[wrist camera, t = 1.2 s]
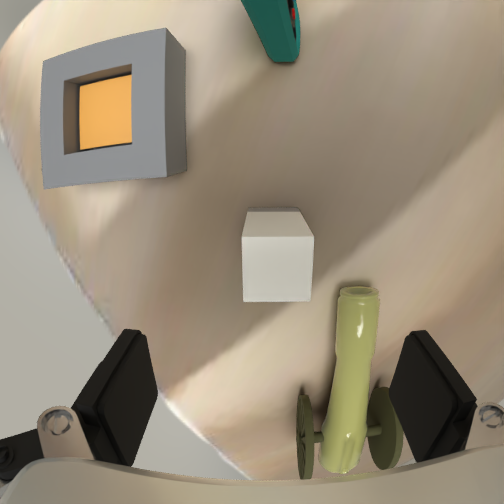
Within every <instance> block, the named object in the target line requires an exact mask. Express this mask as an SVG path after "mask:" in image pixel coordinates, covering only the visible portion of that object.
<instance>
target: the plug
mask: <svg viewBox="0 0 504 504" xmlns="http://www.w3.org/2000/svg"><path fill="white" fill-rule="evenodd" d="M313 251H314V235H313V234H312V232H311V230H310V228H309V227H308V225H307V223H306V221H305V220H304V218H303V216H302V214H301V213H300V211H299V209H298V208H296V207H262V208H248V212H247V216H246V220H245V224H244V229H243V233H242V270H243V302H301V301H311V287H312V270H313Z"/></svg>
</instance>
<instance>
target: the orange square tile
mask: <svg viewBox="0 0 504 504" xmlns="http://www.w3.org/2000/svg"><path fill="white" fill-rule="evenodd" d="M131 81H132V75H128V76H123V77H118V78H113V79H108V80H104V81H100V82H96V83H92V84H88V85H84V86H80V150H84V149H90V148H96V147H102V146H109V145H116V144H124V143H132V127H131Z"/></svg>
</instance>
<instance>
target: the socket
mask: <svg viewBox="0 0 504 504" xmlns="http://www.w3.org/2000/svg"><path fill="white" fill-rule="evenodd" d="M128 75H132V81H131V127H132V143H124V144H116V145H109V146H102V147H96V148H90V149H84V150H80V86H84V85H88V84H92V83H96V82H100V81H104V80H108V79H113V78H118V77H123V76H128ZM40 136H41V160H42V174H43V186H44V189H50V188H57V187H65V186H73V185H81V184H90V183H99V182H109V181H119V180H131V179H143V178H157V177H168V176H171V175H174V174H177V173H180V172H184V171H187V160H186V125H185V49H184V48H183V47H182V46H181V44H180V43H179V42H178V41H177V40H176V39H175V37H174V36H173V35H172V34H171V33H170V32H169V30H168V29H167V28H162V29H156V30H150V31H145V32H140V33H136V34H131V35H127V36H122V37H118V38H114V39H110V40H106V41H103V42H99V43H95V44H92V45H89V46H85V47H82V48H79V49H76V50H73V51H70V52H67V53H64V54H61V55H58V56H56V57H53V58H50V59H48V60H45V61H43V68H42V82H41V106H40Z"/></svg>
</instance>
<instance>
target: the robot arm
mask: <svg viewBox="0 0 504 504" xmlns="http://www.w3.org/2000/svg"><path fill="white" fill-rule="evenodd" d="M157 396H158V390H157V385H156V381H155V376H154V372H153V367H152V363H151V358H150V353H149V348H148V343H147V338H146V336H145V335H143V334H142V333H141V331H140V330H132V329H124V330H123V331H122V333H121V334H120V336H119V337H118V339H117V340H116V342H115V343H114V345H113V346H112V348H111V349H110V351H109V352H108V354H107V355H106V357H105V358H104V360H103V361H102V362H101V363H100V364H99V365H98V367H97V368H96V370H95V371H94V373H93V374H92V376H91V377H90V379H89V380H88V382H87V383H86V385H85V386H84V388H83V389H82V391H81V393H80V394H79V396H78V397H77V399H76V401H75V402H74V404H73V406H72V407H71V408H68V407H65V406H55V407H51V408H49V409H47V410H45V411H44V412H43V413H42V414H41V415H40V416H39V418H38V421H37V429H33V430H30V431H27V432H24V433H21V434H18V435H14V436H11V437H8V438H5V439H1V440H0V504H504V408H503V407H502V406H500V405H498V404H496V403H492V402H484V403H482V404H480V405H479V406H477V404H476V403H475V402H476V400H477V399H476V397H475V396H474V394H473V393H472V391H471V390H470V388H469V387H468V386H467V384H466V383H465V381H464V380H463V379H462V377H461V376H460V374H459V373H458V372H457V370H456V369H455V368H454V366H453V365H452V363H451V362H450V361H449V359H448V358H447V357H446V355H445V354H444V353H443V351H442V350H441V349H440V347H439V346H438V345H437V344H436V342H435V341H434V340H433V338H432V337H431V336H430V335H429V333H428V332H427V331H426V330H420V331H412V332H411V333H410V334H409V335H408V336H406V338H405V341H404V344H403V348H402V351H401V354H400V358H399V361H398V364H397V367H396V370H395V373H394V376H393V379H392V382H391V385H390V388H389V398H390V401H391V403H392V405H393V407H394V410H395V412H396V414H397V417H398V419H399V422H400V424H401V426H402V429H403V431H404V434H405V436H406V438H407V441H408V443H409V446H410V448H411V451H412V453H413V456H414V458H415V460H416V462H417V463H414V464H410V465H406V466H401V467H396V468H391V469H386V470H380V471H375V472H368V473H362V474H355V475H347V476H339V477H329V478H318V479H304V480H277V481H256V480H228V479H213V478H202V477H192V476H184V475H176V474H169V473H162V472H156V471H150V470H144V469H138V468H133V467H131V466H132V465H133V463H134V460H135V457H136V454H137V452H138V449H139V446H140V443H141V440H142V438H143V435H144V432H145V429H146V426H147V424H148V421H149V418H150V416H151V413H152V410H153V408H154V405H155V402H156V400H157ZM128 466H129V467H128Z"/></svg>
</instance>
